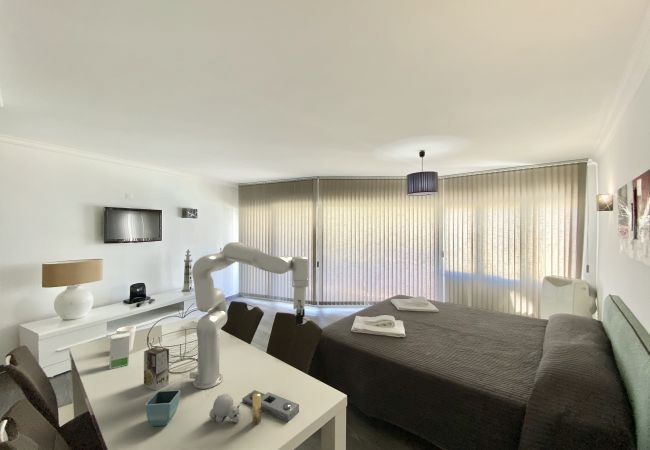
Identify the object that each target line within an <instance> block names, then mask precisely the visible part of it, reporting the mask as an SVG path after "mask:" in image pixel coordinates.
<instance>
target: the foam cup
mask: <svg viewBox="0 0 650 450" xmlns="http://www.w3.org/2000/svg"><path fill="white" fill-rule="evenodd" d="M136 331H137V326H136V325H126V326H122V327H119V328H117V329H116V333H115V335H118V334H124V333H129V334H130V343H129V352H131V351H132V350H133V349H134V342H135V336H136Z"/></svg>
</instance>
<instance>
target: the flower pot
mask: <svg viewBox="0 0 650 450" xmlns="http://www.w3.org/2000/svg"><path fill="white" fill-rule="evenodd" d="M180 396H181V389H178V390H177V389H174V390H173V389H172V390H171V389H170V390H157V391H156V392H155V393H154V395H153V396H151V397H150V398H149V400H148V401H147V402H146V403H145V404H144V405H145V406H144V407H145V414H146V419H147V421H148V423H149V424H150V425H151V426H152V427H158V426H167V425H168V424H169V423H170V422H171V420H172V419H173V417H174V416H175V414H176V412H177V410H178V406H179V404H180Z"/></svg>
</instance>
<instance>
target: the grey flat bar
mask: <svg viewBox="0 0 650 450" xmlns="http://www.w3.org/2000/svg"><path fill="white" fill-rule="evenodd" d="M256 392H260V393H261V412H264V413H267V414H268V415H271V416H272V417H275V418H278V419H279V420H282V421H283V422H286V423H289V422H290V421H291V420H292V419H293V418H294V417H295V416H296V415H297V414H298V413H299V412H300V404H299V403H297V402H295V401H291V400H289V399H286V398H285V397H284V398H283V396H279V395H277V394H274V393H271V392H269V391H268V392H267V393H264V392H261V391H257V390H255V389H254V390H253V391H251V392H250V393H248V394H247V395H245V396H244V397H242V400H241V401H242V403H244V404H247V405H249V406H250V407H253V394H254V393H256Z"/></svg>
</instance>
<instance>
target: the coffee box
mask: <svg viewBox="0 0 650 450" xmlns="http://www.w3.org/2000/svg"><path fill="white" fill-rule="evenodd" d="M169 366H170V349H169V348H166V347H161V346H158V345H156V346H154V347H151V348H149V349H147V350H144V351H143V387H145V388H148V389H150V390H153V391H159V390H160V389H162V388H164V387H166V386H167V385H169V383H170V382H169V375H170V373H169V368H170V367H169Z"/></svg>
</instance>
